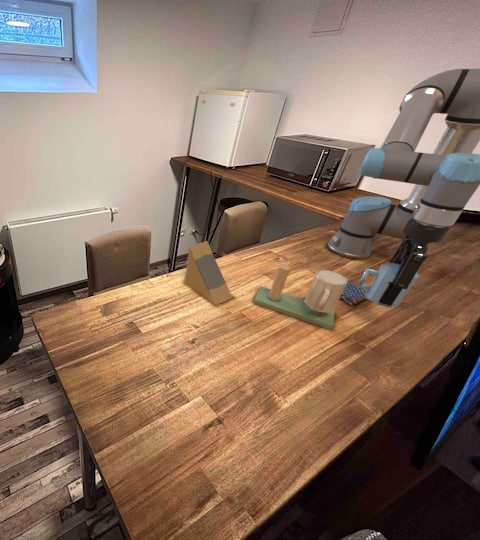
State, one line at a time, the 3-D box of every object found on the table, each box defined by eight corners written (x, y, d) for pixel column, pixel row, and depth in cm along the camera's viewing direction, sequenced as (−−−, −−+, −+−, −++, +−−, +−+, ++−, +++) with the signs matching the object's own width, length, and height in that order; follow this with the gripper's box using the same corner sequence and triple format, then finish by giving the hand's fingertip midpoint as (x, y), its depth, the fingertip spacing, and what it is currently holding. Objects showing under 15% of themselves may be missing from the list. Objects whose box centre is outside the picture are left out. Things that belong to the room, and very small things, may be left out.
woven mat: (320, 288, 102) (322, 283, 101) (340, 281, 106) (343, 277, 105) (350, 306, 94) (353, 301, 93) (371, 298, 98) (374, 293, 97)
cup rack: (259, 289, 102) (270, 256, 94) (332, 313, 91) (351, 277, 84) (253, 302, 95) (264, 268, 88) (331, 329, 85) (351, 293, 78)
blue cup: (354, 284, 89) (369, 257, 84) (397, 296, 84) (416, 267, 79) (353, 297, 84) (369, 269, 79) (400, 311, 79) (420, 281, 74)
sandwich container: (215, 305, 94) (224, 266, 86) (183, 282, 105) (188, 246, 97) (233, 297, 98) (243, 259, 90) (200, 275, 109) (207, 240, 101)
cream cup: (301, 311, 85) (314, 283, 80) (305, 293, 93) (317, 267, 87) (331, 321, 82) (347, 293, 76) (333, 302, 89) (347, 275, 84)
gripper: (405, 206, 79) (366, 275, 92) (415, 233, 65) (368, 310, 78) (442, 211, 76) (397, 282, 88) (461, 242, 62) (404, 321, 74)
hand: (383, 295), depth 83 cm, fingers closed on blue cup, 8 cm apart
